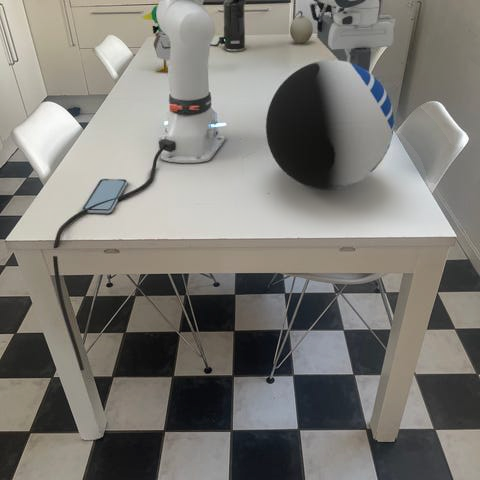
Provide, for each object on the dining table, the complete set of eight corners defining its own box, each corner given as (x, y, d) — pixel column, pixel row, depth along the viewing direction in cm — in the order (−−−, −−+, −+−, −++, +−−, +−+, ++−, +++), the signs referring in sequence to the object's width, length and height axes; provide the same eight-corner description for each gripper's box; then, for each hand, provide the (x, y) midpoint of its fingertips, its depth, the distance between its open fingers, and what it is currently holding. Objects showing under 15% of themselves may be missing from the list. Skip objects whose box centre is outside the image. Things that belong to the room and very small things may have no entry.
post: (368, 77, 163) (371, 51, 158) (355, 78, 162) (358, 52, 158) (327, 36, 205) (328, 14, 200) (317, 37, 205) (318, 15, 200)
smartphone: (80, 210, 121) (100, 178, 133) (81, 213, 122) (101, 181, 134) (110, 211, 121) (128, 179, 133) (111, 214, 121) (128, 182, 133)
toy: (155, 65, 218) (148, 2, 203) (198, 69, 211) (194, 5, 197) (145, 70, 212) (137, 6, 198) (190, 75, 205) (185, 9, 191)
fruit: (304, 38, 249) (305, 4, 240) (316, 43, 240) (318, 9, 231) (284, 40, 245) (285, 7, 237) (296, 46, 237) (297, 11, 228)
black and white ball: (400, 209, 120) (424, 81, 103) (272, 216, 119) (274, 88, 101) (366, 153, 144) (380, 42, 127) (260, 158, 143) (260, 47, 126)
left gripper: (392, 12, 160) (385, 57, 168) (328, 15, 159) (324, 60, 167) (399, 16, 155) (392, 63, 163) (333, 19, 154) (329, 66, 162)
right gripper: (345, -20, 192) (341, 28, 202) (308, -19, 191) (305, 30, 201) (351, -17, 186) (346, 32, 196) (312, -15, 185) (309, 34, 195)
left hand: (358, 61), depth 165 cm, fingers closed on post, 4 cm apart
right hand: (325, 31), depth 199 cm, fingers closed on post, 4 cm apart
